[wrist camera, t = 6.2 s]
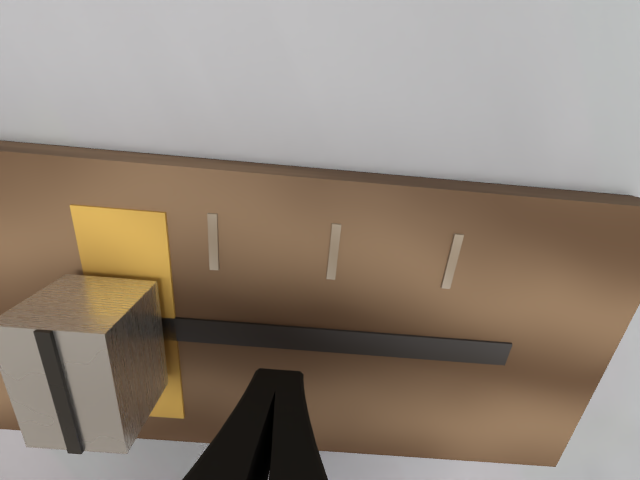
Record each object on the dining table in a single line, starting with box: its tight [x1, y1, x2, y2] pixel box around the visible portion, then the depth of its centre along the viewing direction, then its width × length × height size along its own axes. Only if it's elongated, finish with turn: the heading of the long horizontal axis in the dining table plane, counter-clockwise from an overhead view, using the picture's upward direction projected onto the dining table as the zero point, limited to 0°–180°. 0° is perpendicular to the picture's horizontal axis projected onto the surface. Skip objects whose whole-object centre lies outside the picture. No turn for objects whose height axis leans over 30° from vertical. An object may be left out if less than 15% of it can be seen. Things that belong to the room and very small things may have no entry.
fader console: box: [0, 141, 640, 467], centre depth 13 cm, size 12×26×2 cm, turn 85°
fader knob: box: [0, 274, 168, 454], centre depth 10 cm, size 4×3×3 cm
